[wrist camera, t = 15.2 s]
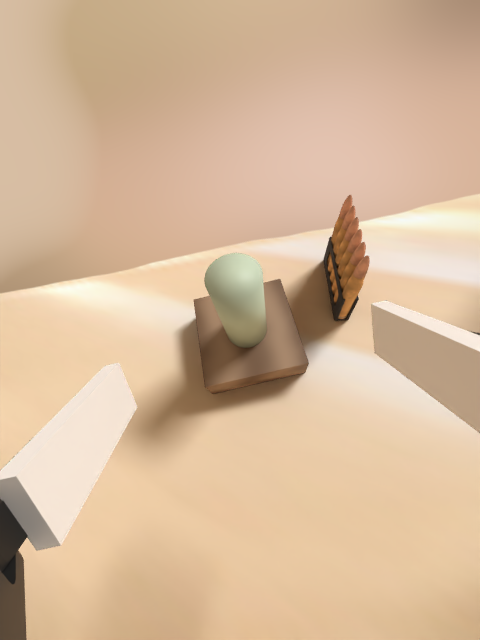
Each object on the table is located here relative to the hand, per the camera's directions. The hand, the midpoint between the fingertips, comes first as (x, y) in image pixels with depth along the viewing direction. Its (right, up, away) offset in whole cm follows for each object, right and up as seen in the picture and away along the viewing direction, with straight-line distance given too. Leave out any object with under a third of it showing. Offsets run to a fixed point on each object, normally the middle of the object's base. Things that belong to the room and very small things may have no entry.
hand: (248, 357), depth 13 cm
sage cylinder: (0, +1, +18) cm, 18 cm away
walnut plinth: (+1, -1, +22) cm, 22 cm away
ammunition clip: (+13, +7, +24) cm, 28 cm away
